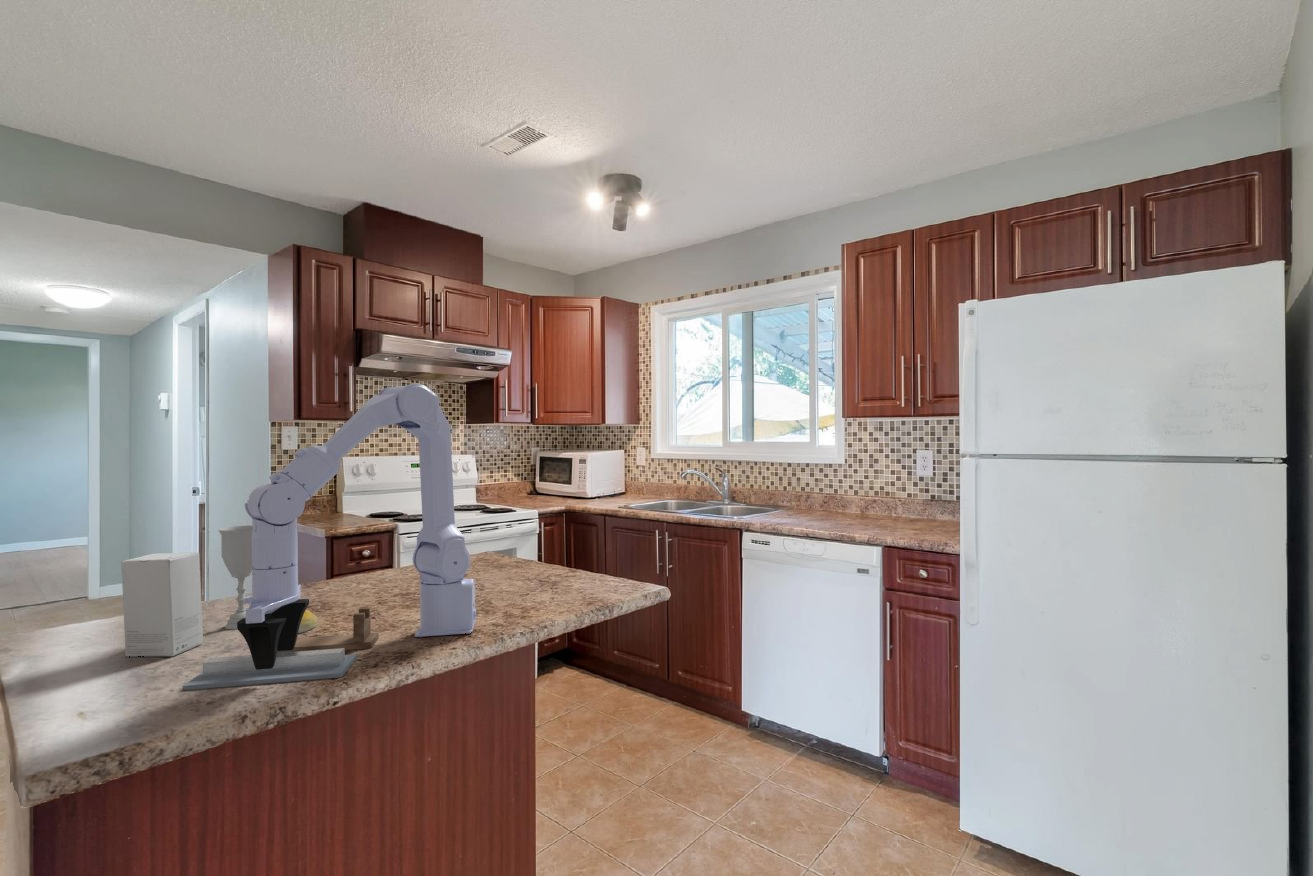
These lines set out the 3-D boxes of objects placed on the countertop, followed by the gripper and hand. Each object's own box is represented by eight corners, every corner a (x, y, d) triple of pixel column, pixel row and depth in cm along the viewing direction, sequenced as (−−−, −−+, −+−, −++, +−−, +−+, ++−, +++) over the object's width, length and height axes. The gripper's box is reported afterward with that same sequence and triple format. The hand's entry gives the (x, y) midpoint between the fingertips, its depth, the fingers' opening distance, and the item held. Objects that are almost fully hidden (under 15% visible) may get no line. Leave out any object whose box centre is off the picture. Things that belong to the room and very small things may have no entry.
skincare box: (204, 644, 102) (203, 551, 102) (170, 658, 96) (169, 559, 96) (156, 644, 103) (156, 551, 103) (120, 658, 96) (119, 559, 96)
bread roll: (269, 641, 104) (268, 618, 104) (260, 629, 111) (260, 607, 111) (322, 631, 110) (322, 608, 110) (311, 620, 116) (311, 599, 117)
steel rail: (344, 661, 92) (344, 648, 92) (340, 666, 90) (340, 652, 90) (209, 671, 88) (209, 658, 88) (202, 677, 86) (202, 662, 86)
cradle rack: (378, 638, 104) (378, 606, 105) (371, 648, 100) (371, 614, 100) (275, 645, 101) (275, 612, 101) (262, 656, 96) (262, 621, 96)
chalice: (209, 628, 111) (208, 529, 111) (246, 618, 118) (246, 524, 118) (235, 632, 109) (235, 531, 109) (272, 622, 115) (272, 526, 115)
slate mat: (357, 658, 95) (357, 654, 95) (341, 677, 87) (341, 673, 87) (212, 669, 91) (212, 665, 91) (182, 690, 83) (182, 686, 83)
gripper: (265, 558, 95) (266, 644, 95) (219, 578, 81) (220, 680, 81) (315, 555, 97) (315, 641, 97) (278, 575, 83) (279, 675, 83)
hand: (275, 659), depth 89 cm, fingers open, 7 cm apart
